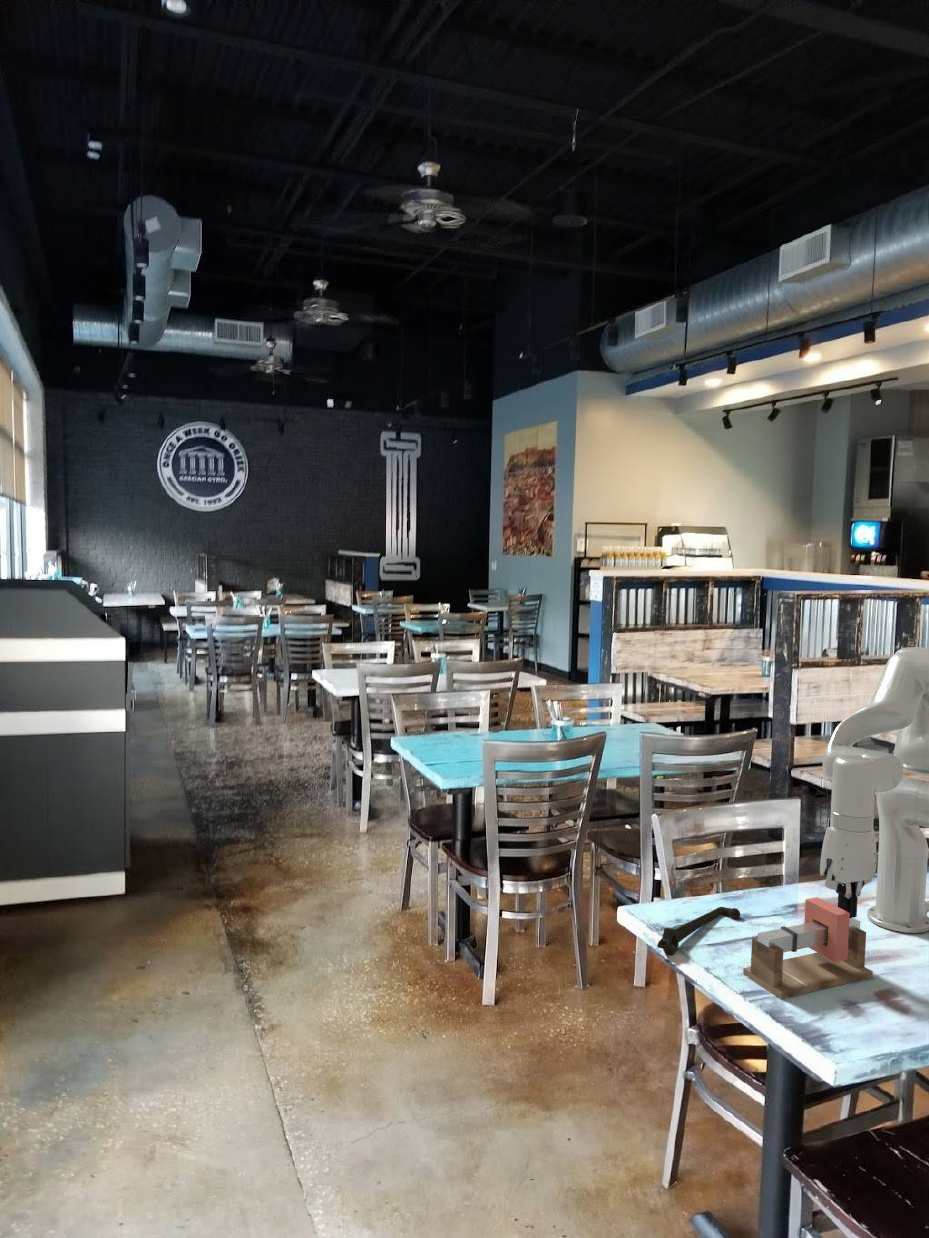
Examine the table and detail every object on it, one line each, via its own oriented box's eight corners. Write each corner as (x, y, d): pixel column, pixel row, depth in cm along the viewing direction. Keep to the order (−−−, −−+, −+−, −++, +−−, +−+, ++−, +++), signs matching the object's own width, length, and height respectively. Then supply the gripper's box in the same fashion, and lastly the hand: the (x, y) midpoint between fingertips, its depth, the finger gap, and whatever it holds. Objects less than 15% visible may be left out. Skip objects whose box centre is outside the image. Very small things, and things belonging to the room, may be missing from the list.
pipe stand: (832, 955, 180) (833, 915, 179) (872, 977, 170) (874, 936, 170) (743, 974, 171) (744, 933, 170) (780, 999, 162) (782, 955, 161)
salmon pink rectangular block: (815, 942, 176) (817, 897, 175) (847, 959, 169) (849, 912, 168) (803, 944, 175) (805, 899, 174) (835, 962, 168) (837, 915, 167)
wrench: (741, 926, 197) (678, 964, 174) (719, 921, 200) (654, 958, 177) (742, 902, 197) (678, 937, 174) (719, 898, 200) (654, 931, 178)
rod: (846, 930, 176) (847, 913, 176) (860, 938, 173) (861, 920, 173) (756, 949, 167) (757, 931, 167) (769, 957, 164) (770, 938, 164)
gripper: (865, 811, 178) (860, 902, 180) (806, 819, 172) (802, 913, 174) (897, 822, 171) (891, 917, 173) (837, 831, 165) (832, 928, 167)
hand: (846, 915), depth 173 cm, fingers closed
